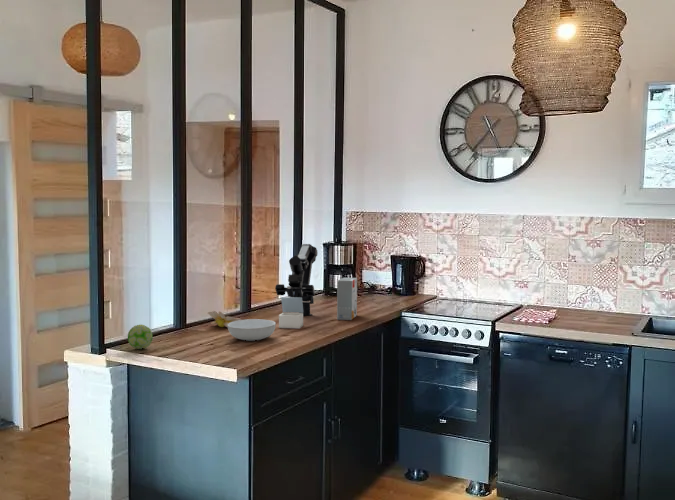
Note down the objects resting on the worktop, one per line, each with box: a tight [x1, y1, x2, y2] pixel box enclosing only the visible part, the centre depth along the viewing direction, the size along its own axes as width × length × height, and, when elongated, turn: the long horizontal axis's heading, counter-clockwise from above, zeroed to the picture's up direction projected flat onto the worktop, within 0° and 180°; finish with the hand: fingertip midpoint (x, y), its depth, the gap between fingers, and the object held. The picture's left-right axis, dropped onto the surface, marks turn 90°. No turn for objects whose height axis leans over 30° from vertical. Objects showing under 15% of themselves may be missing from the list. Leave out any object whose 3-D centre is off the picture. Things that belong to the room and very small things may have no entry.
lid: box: [280, 296, 303, 313], centre depth 328 cm, size 8×10×1 cm
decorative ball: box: [127, 324, 153, 350], centre depth 278 cm, size 10×10×10 cm
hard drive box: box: [336, 277, 358, 321], centre depth 349 cm, size 16×8×20 cm, turn 168°
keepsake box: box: [278, 312, 304, 329], centre depth 325 cm, size 8×10×6 cm
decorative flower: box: [207, 310, 241, 328], centre depth 326 cm, size 15×11×10 cm
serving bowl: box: [227, 318, 277, 342], centre depth 298 cm, size 21×21×7 cm
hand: (292, 303), depth 328 cm, fingers closed, pressing on lid
